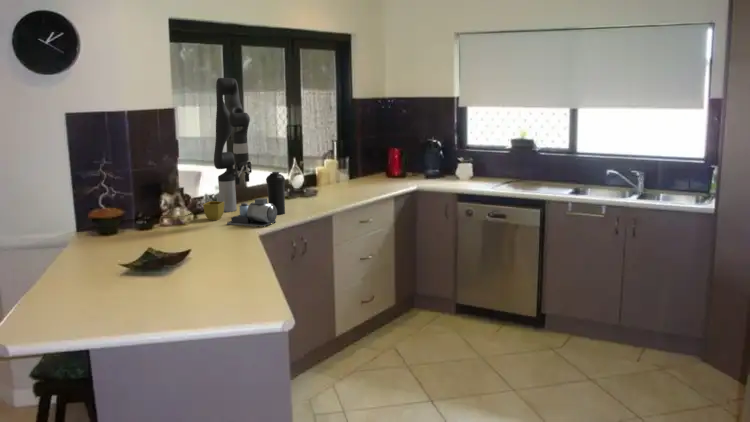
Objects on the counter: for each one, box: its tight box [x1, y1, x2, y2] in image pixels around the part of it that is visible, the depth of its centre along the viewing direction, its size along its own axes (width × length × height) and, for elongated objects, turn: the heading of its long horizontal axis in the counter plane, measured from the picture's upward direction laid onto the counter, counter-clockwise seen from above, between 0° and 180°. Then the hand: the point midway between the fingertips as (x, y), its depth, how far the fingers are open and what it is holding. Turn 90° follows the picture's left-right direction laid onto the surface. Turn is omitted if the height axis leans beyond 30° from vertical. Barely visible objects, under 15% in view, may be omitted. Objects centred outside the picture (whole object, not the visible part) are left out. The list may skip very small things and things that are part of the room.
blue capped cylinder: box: [238, 202, 250, 217], centre depth 364 cm, size 5×5×9 cm
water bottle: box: [265, 171, 286, 216], centre depth 385 cm, size 10×10×23 cm
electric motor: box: [226, 197, 278, 227], centre depth 362 cm, size 24×12×13 cm, turn 67°
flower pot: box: [202, 200, 225, 221], centre depth 375 cm, size 9×9×9 cm
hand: (242, 183), depth 363 cm, fingers open, 8 cm apart
